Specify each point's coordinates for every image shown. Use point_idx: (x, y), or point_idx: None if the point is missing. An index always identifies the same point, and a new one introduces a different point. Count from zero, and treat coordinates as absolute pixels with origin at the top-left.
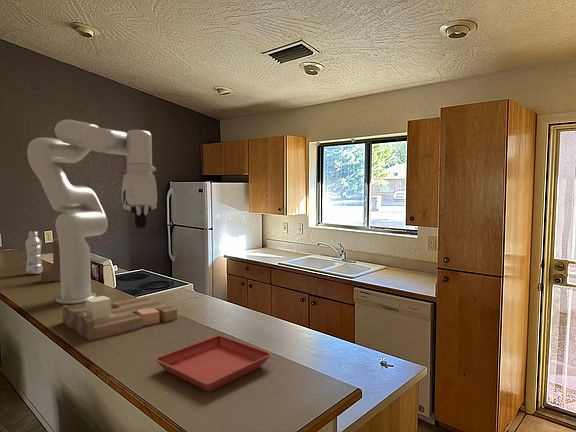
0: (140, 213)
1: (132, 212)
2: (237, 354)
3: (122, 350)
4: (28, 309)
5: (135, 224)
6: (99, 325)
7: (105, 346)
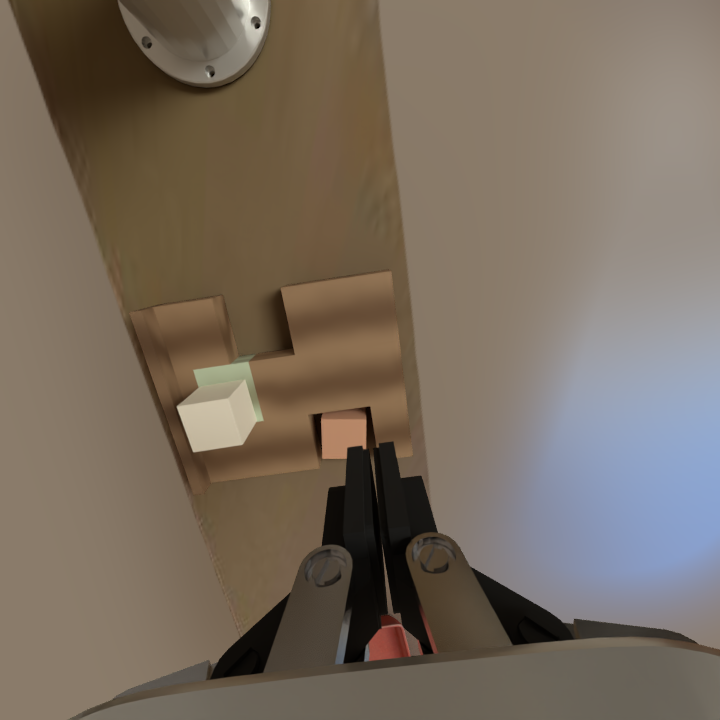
0: (366, 649)
1: (278, 609)
2: (400, 649)
3: (259, 541)
4: (38, 60)
5: (330, 492)
6: (223, 472)
7: (235, 510)
